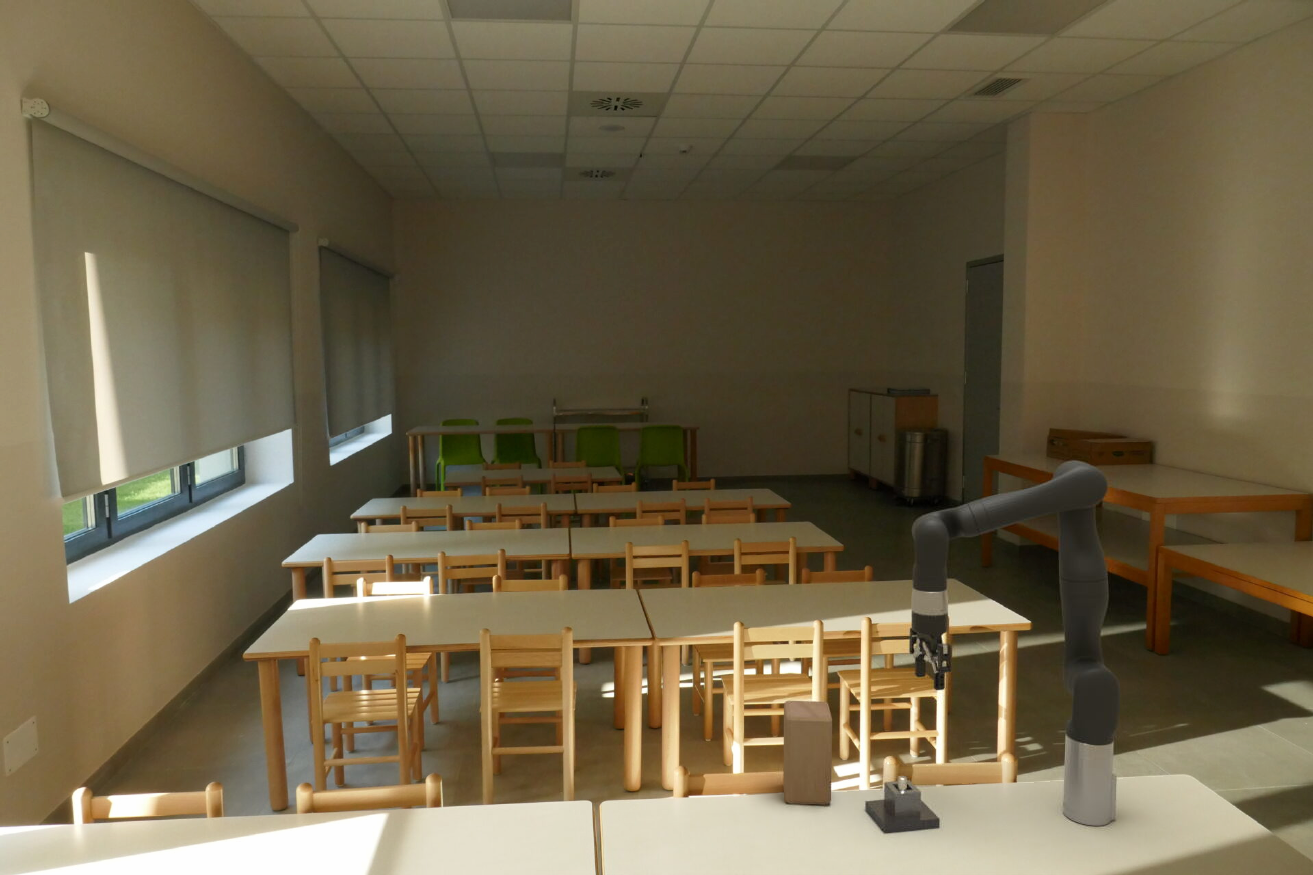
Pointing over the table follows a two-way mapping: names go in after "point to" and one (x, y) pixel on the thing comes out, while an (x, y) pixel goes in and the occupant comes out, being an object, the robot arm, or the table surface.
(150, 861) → the table surface
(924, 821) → the shaft block
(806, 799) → the wooden block
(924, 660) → the robot arm
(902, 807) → the collar
